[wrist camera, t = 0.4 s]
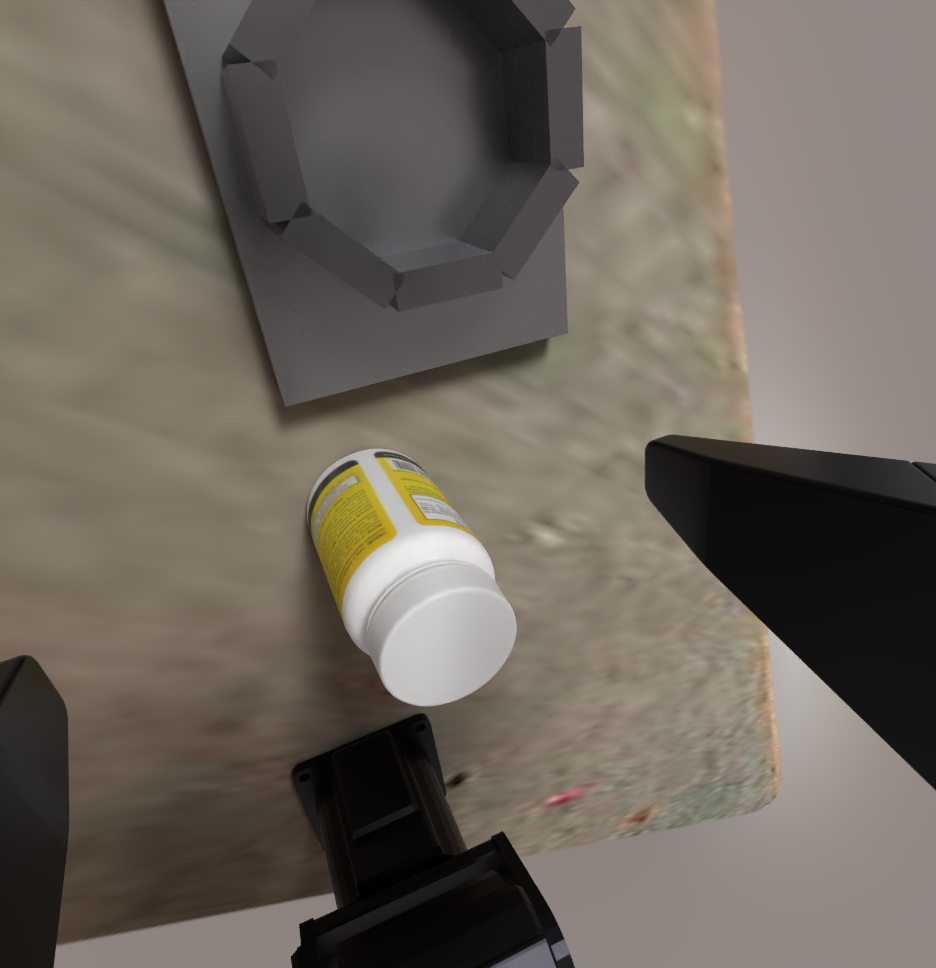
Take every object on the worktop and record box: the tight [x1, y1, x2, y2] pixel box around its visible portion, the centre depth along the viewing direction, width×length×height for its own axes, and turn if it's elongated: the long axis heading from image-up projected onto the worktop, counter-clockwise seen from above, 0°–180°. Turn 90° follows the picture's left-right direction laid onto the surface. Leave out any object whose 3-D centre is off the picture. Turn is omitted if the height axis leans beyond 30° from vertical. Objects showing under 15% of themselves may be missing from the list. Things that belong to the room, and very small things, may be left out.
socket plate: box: [162, 0, 584, 407], centre depth 17 cm, size 12×10×4 cm
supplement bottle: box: [307, 449, 517, 706], centre depth 20 cm, size 5×5×8 cm
